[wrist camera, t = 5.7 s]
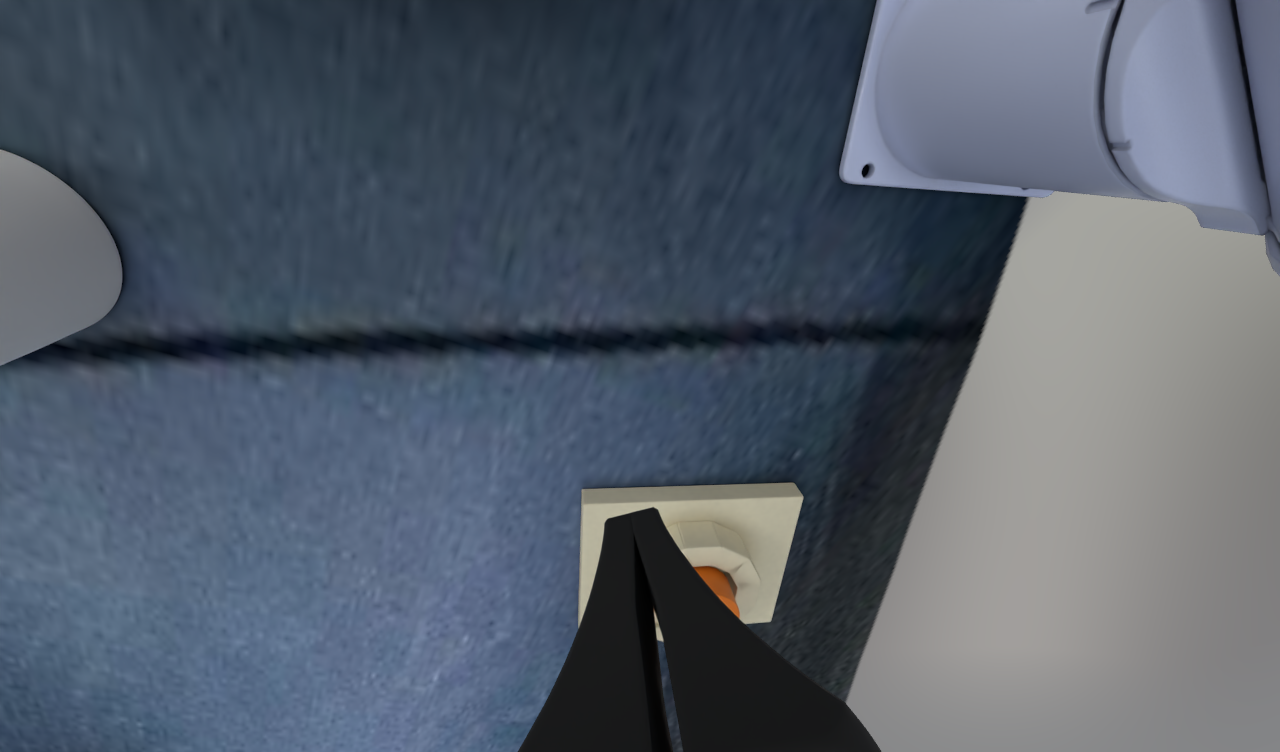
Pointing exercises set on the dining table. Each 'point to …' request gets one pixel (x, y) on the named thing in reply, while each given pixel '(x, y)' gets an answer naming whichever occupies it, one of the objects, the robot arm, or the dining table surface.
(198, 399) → the dining table surface
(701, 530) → the button block
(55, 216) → the mug
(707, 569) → the orange button
